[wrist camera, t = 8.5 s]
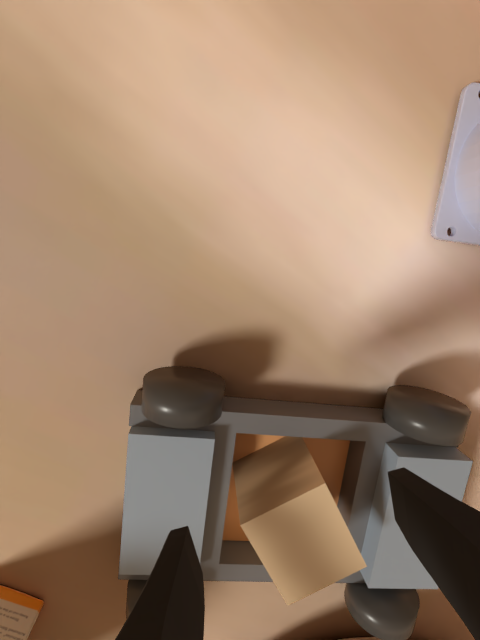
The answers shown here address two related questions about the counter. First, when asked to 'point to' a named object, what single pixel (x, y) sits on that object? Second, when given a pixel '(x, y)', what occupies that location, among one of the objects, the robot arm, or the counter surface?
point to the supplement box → (17, 613)
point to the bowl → (362, 638)
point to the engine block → (293, 519)
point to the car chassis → (330, 458)
